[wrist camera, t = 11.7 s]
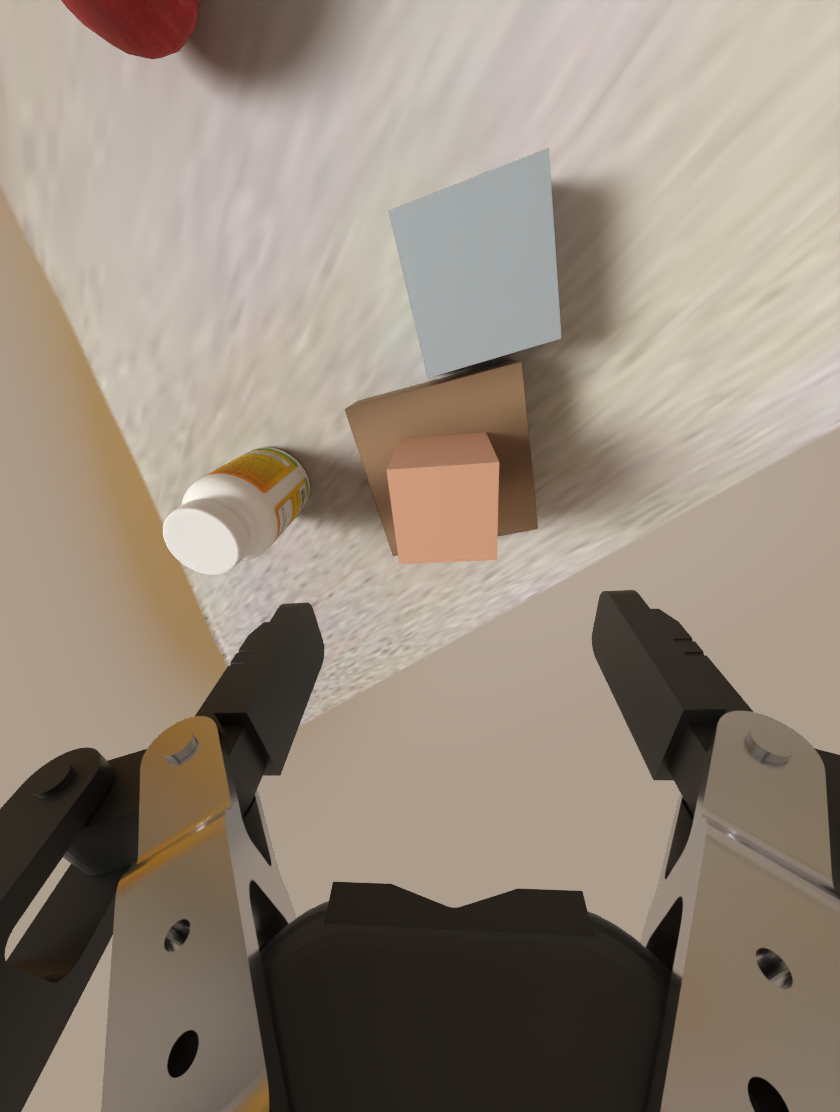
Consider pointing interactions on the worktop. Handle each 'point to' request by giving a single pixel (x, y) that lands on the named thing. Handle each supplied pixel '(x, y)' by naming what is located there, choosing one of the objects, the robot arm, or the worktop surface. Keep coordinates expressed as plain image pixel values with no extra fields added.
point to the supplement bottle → (237, 511)
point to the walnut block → (453, 409)
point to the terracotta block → (445, 498)
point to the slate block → (482, 265)
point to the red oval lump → (139, 23)
